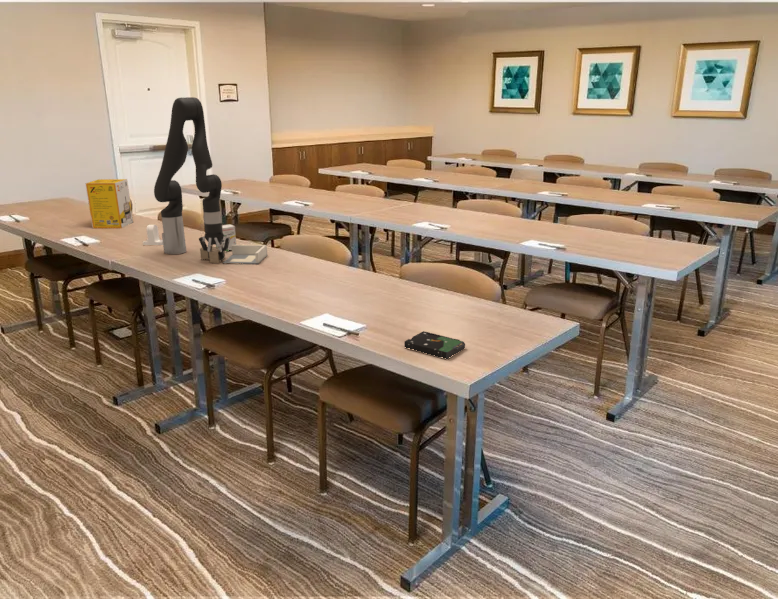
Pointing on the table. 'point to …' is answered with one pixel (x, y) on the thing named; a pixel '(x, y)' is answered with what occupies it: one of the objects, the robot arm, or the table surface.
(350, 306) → the table surface
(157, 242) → the cable organizer
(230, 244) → the ink box
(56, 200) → the table surface
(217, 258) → the tan boxy piece
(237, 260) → the tray
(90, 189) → the packaging box
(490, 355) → the table surface
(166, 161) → the robot arm
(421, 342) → the disk drive
